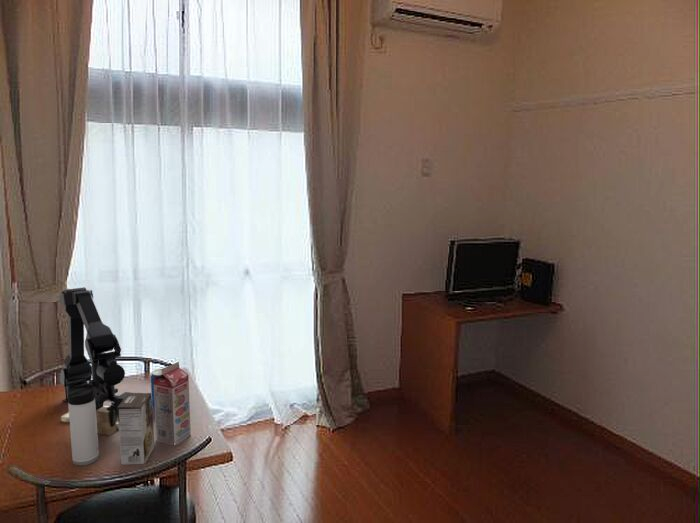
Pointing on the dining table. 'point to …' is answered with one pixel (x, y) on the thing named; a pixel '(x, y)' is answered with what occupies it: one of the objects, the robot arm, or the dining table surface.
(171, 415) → the milk carton
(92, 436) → the travel mug
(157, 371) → the beverage can
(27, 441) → the dining table surface
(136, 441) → the coffee box
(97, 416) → the block
